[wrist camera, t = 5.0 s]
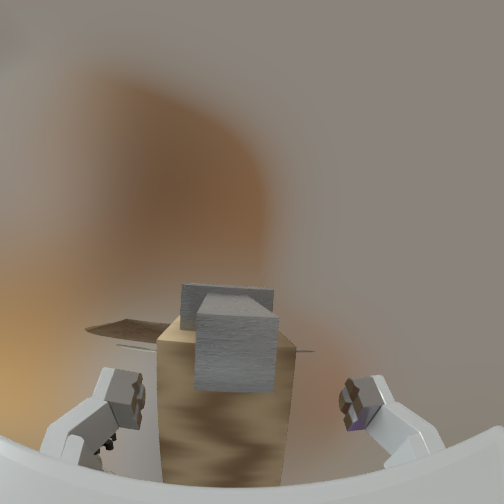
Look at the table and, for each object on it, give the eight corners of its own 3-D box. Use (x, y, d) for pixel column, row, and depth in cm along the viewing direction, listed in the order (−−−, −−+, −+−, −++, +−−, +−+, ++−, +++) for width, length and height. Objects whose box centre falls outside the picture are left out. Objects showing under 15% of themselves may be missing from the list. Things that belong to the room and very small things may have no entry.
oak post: (177, 568, 16) (156, 339, 18) (183, 505, 28) (179, 315, 30) (264, 570, 17) (296, 346, 19) (251, 508, 29) (267, 320, 31)
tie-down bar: (142, 384, 10) (143, 295, 10) (186, 320, 27) (188, 282, 27) (322, 390, 11) (330, 305, 11) (261, 324, 28) (264, 287, 28)
